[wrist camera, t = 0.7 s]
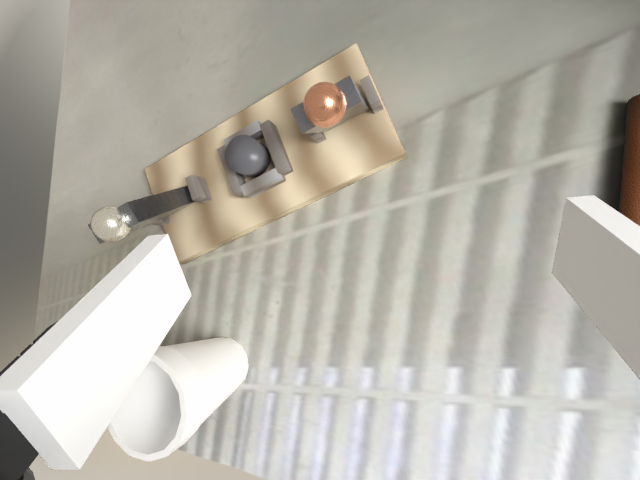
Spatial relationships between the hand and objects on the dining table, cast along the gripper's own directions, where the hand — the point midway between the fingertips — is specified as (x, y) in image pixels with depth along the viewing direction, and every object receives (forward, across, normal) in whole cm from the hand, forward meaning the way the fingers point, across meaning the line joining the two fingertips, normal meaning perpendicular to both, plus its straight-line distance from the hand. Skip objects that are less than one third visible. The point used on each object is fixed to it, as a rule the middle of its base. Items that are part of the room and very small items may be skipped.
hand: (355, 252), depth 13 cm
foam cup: (+20, -18, -26) cm, 38 cm away
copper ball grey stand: (+28, -2, 0) cm, 28 cm away
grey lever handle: (+28, -22, -8) cm, 36 cm away
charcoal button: (+28, -12, -4) cm, 31 cm away
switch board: (+31, -11, -5) cm, 33 cm away
